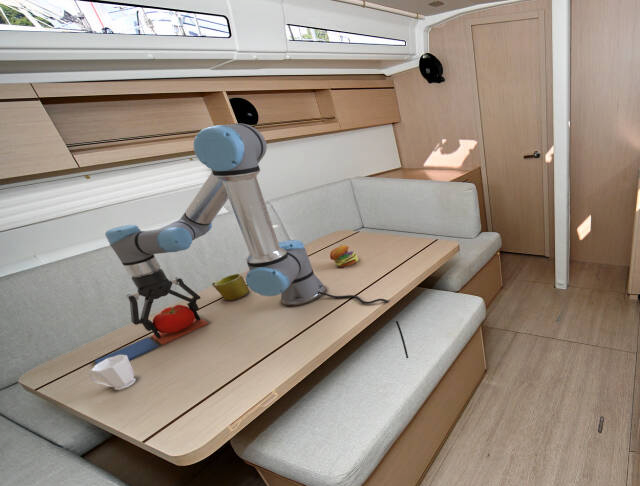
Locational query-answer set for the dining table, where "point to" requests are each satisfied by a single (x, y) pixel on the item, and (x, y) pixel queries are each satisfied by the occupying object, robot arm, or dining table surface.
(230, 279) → the mug
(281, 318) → the dining table surface
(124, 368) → the cup
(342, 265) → the cheeseburger
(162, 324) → the tomato
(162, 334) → the red mat
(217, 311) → the dining table surface
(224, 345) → the dining table surface
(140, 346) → the blue mat
